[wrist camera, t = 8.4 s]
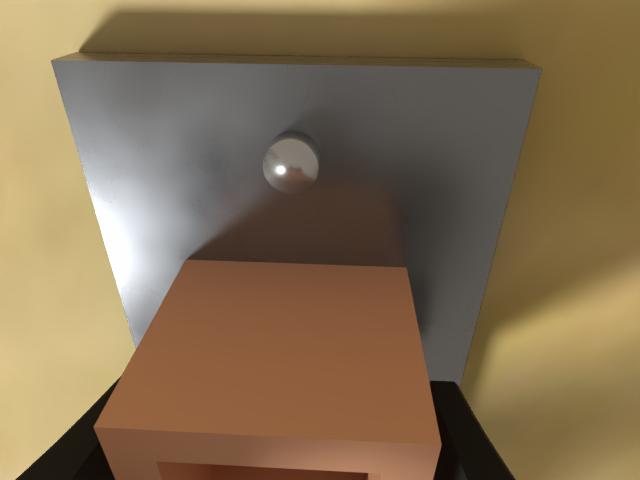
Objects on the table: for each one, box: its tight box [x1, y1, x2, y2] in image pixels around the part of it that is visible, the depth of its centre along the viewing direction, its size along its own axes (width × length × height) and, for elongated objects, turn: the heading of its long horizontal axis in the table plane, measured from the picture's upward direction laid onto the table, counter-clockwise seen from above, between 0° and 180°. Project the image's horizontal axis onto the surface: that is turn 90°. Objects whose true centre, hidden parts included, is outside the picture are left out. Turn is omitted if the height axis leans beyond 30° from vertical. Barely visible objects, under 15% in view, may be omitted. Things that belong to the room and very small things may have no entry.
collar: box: [94, 260, 442, 480], centre depth 11 cm, size 6×6×5 cm
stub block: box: [51, 52, 542, 388], centre depth 13 cm, size 16×10×3 cm, turn 1°
